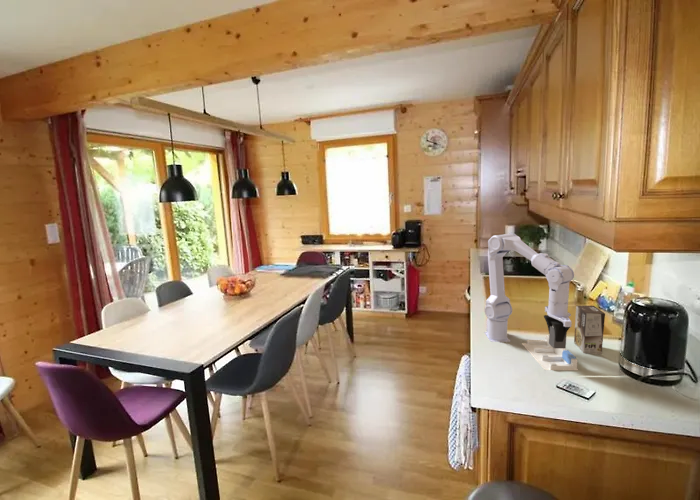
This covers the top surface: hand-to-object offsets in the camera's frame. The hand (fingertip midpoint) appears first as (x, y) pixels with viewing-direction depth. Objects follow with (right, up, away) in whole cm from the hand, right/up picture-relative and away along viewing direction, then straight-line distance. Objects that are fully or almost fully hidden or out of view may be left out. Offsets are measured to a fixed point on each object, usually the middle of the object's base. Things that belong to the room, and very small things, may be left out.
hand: (556, 338), depth 124 cm
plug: (+1, -3, 0) cm, 3 cm away
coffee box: (+19, -7, +12) cm, 24 cm away
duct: (+2, -9, +8) cm, 12 cm away
